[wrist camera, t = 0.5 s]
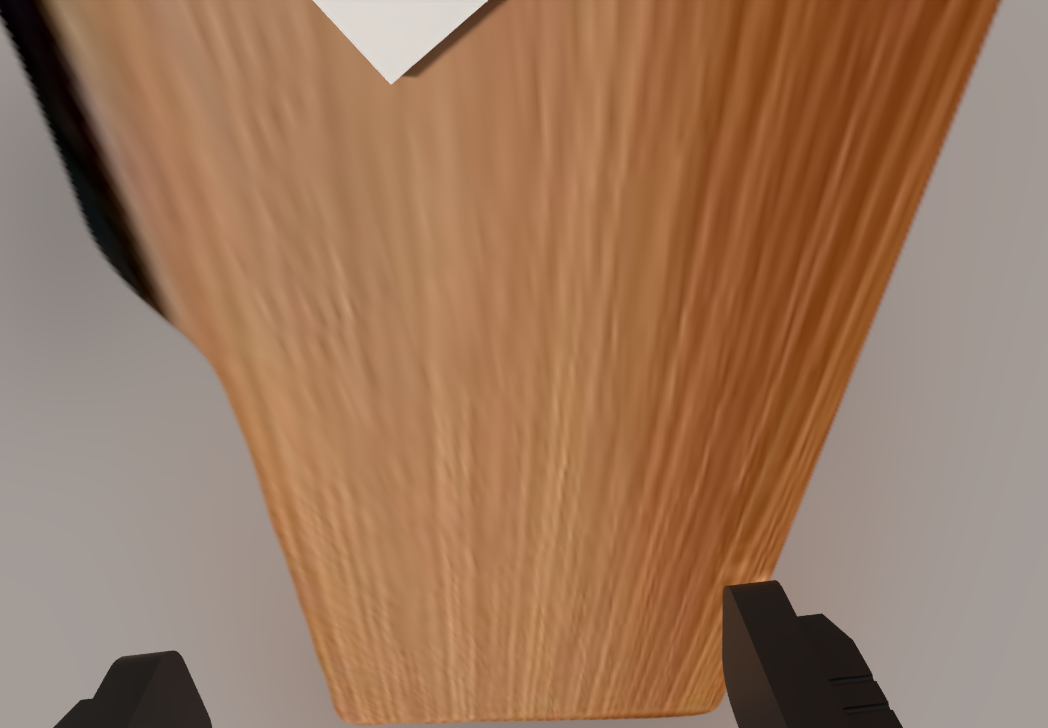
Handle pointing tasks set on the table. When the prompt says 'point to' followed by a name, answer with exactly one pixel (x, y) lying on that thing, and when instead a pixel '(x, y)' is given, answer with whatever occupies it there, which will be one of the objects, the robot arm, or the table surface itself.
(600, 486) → the table surface
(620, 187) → the table surface
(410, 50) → the build plate
